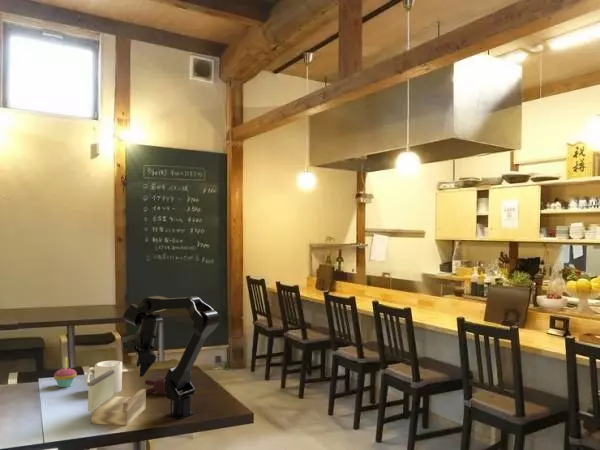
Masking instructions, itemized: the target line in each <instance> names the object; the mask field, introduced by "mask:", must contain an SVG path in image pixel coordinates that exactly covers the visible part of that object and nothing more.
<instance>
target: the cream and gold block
mask: <svg viewBox="0 0 600 450" xmlns="http://www.w3.org/2000/svg"><path fill="white" fill-rule="evenodd" d="M146 390H147V389H146V388H141V389H140V390H138V391H137V392H135V394H133V395H132V396H115V395H113V396H112V397H111V398H109V399H108V400H106V401H105V402H104V403H102V404H101V405H99V406H98V407H96V408H95V409H94V410H92V411H91V419H90V420H91V421H90V424H92V425H93V424H95V425H96V424H97V425H112V426H113V425H116V426H117V425H118V426H128V425H129V424H131V422H132V421H133V420H135V419H136V418H137V417H139V416H140V414H141V413H143V412H144V410H146V401H147V400H146V397H147V396H146V395H147V394H146Z"/></svg>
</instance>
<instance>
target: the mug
mask: <svg viewBox="0 0 600 450" xmlns="http://www.w3.org/2000/svg"><path fill="white" fill-rule="evenodd" d="M109 370H114V374H113V395H114V394H117V393H120V392H121V391H122V388H123V387H122V385H123V384H122V383H123V381H122V380H123V379H122V378H123V362H122V361H119V360H104V361H99V362H96V363H95V364H94V367H93V366H92V367H90V368H88V371H87V373H86V375H85V381H86V385H87V387H89V386H88V382H90V381H91V380H90V375H91V372H92V371H94V379H95V378H97V377H99V376H101V375H102V374H104V373H106V372H108V371H109Z"/></svg>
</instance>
